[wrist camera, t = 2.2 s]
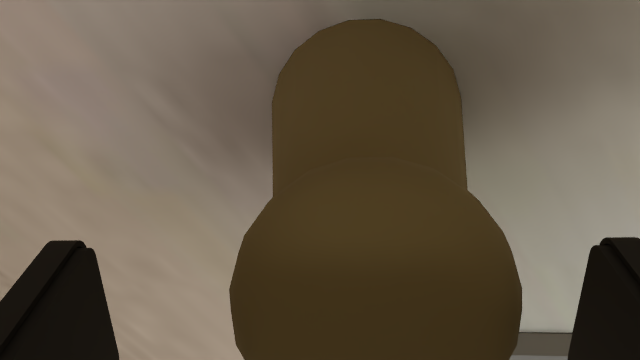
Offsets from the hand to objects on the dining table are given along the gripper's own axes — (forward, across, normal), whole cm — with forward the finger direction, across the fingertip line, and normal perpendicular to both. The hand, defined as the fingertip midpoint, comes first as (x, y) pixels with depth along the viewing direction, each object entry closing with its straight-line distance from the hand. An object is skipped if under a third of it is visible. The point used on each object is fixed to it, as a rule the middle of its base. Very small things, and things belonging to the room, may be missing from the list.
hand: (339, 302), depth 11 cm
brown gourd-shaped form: (+9, -1, 0) cm, 9 cm away
